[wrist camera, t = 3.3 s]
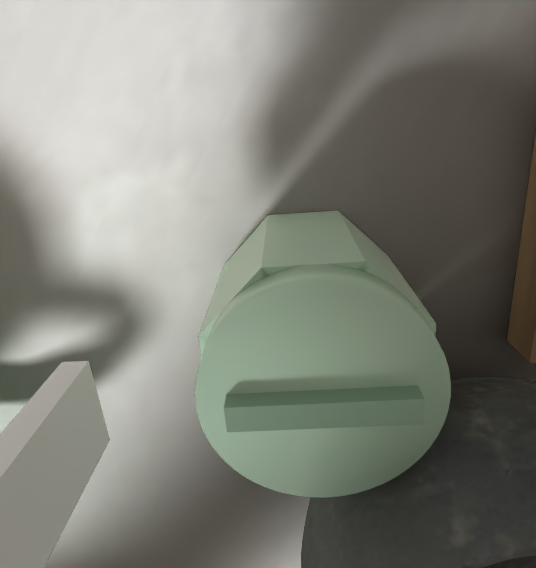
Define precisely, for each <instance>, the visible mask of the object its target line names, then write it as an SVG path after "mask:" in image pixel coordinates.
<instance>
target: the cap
mask: <svg viewBox="0 0 536 568" xmlns="http://www.w3.org/2000/svg"><path fill="white" fill-rule="evenodd" d="M435 335H436V322H435V321H434V320H433V318H432V317H431V315H430V314H429V313H428V311H427V310H426V308H425V307H424V306H423V304H422V303H421V301H420V300H419V299H418V297H417V296H416V294H415V293H414V292H413V290H412V289H411V287H410V286H409V285H408V283H407V282H406V280H405V279H404V278H403V276H402V275H401V273H400V272H399V271H398V269H397V268H396V266H395V265H394V264H393V262H392V261H391V259H390V258H389V257H388V255H387V254H386V253H385V252H384V251H382V250H381V249H380V248H379V247H378V246H377V245H376V244H375V243H374V242H372V241H371V240H370V239H369V238H368V237H367V236H366V235H365V234H364V233H362V232H361V231H360V230H359V229H358V228H357V227H356V226H355V225H354V224H352V223H351V222H350V221H349V220H348V219H347V218H346V217H345V216H344V215H342V214H341V213H340V212H339V211H338V210H337V211H322V212H307V213H293V214H278V215H267V217H266V218H265V219H264V220H263V221H262V222H261V223H260V225H259V226H258V227H257V228H256V229H255V230H254V231H253V233H252V234H251V235H250V236H249V237H248V238H247V239H246V241H245V242H244V243H243V244H242V245H241V246H240V247H239V249H238V250H237V251H236V252H235V253H234V254H233V255H232V257H231V258H230V259H229V260H228V261H227V262H226V263H225V265H224V267H223V270H222V272H221V275H220V278H219V281H218V283H217V286H216V289H215V292H214V294H213V297H212V300H211V303H210V305H209V308H208V311H207V314H206V317H205V319H204V322H203V325H202V328H201V330H200V333H199V336H198V337H199V344H200V351H201V357H202V358H201V361H200V365H199V368H198V373H197V377H196V384H195V403H196V410H197V414H198V418H199V422H200V424H201V427H202V429H203V432H204V434H205V436H206V437H207V439H208V441H209V443H210V444H211V446H212V447H213V448H214V450H215V451H216V452H217V453H218V455H219V456H220V457H221V458H222V459H223V460H224V461H225V462H226V463H227V464H228V465H229V466H230V467H232V468H233V469H234V470H236V471H237V472H238V473H239V474H241V475H242V476H244V477H246V478H248V479H249V480H251V481H253V482H255V483H257V484H259V485H261V486H263V487H266V488H268V489H271V490H274V491H278V492H281V493H285V494H290V495H294V496H302V497H320V498H326V497H338V496H345V495H350V494H355V493H359V492H362V491H366V490H369V489H372V488H374V487H377V486H379V485H382V484H384V483H386V482H388V481H390V480H391V479H393V478H395V477H397V476H398V475H400V474H401V473H403V472H404V471H406V470H407V469H409V468H410V467H411V466H412V465H413V464H414V463H416V462H417V461H418V460H419V459H420V458H421V457H422V456H423V455H424V454H425V453H426V451H427V450H428V449H429V448H430V447H431V445H432V444H433V442H434V441H435V439H436V438H437V436H438V435H439V433H440V431H441V429H442V427H443V425H444V422H445V419H446V416H447V413H448V410H449V404H450V398H451V379H450V373H449V367H448V364H447V361H446V358H445V355H444V352H443V350H442V348H441V347H440V345H439V343H438V341H437V339H436V338H435Z"/></svg>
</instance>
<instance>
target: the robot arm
mask: <svg viewBox="0 0 536 568" xmlns="http://www.w3.org/2000/svg"><path fill="white" fill-rule="evenodd" d="M109 440H110V439H109V435H108V431H107V428H106V424H105V420H104V416H103V413H102V409H101V405H100V401H99V398H98V394H97V390H96V386H95V383H94V379H93V375H92V371H91V367H90V364H89V361H72V362H61V363H60V365H59V366H58V367H57V368H56V369H55V371H54V372H53V373H52V374H51V375H50V376H49V378H48V379H47V380H46V381H45V382H44V383H43V385H42V386H41V387H40V388H39V389H38V390H37V392H36V393H35V394H34V395H33V396H32V397H31V399H30V400H29V401H28V402H27V403H26V405H25V406H24V407H23V408H22V409H21V410H20V412H19V413H18V414H17V415H16V416H15V417H14V419H13V420H12V421H11V422H10V423H9V424H8V426H7V427H6V428H5V429H4V430H3V431H2V433H1V434H0V568H44V566H45V564H46V562H47V560H48V558H49V556H50V554H51V553H52V551H53V549H54V547H55V545H56V543H57V541H58V539H59V537H60V535H61V533H62V531H63V529H64V527H65V525H66V524H67V522H68V520H69V518H70V516H71V514H72V512H73V510H74V508H75V506H76V504H77V502H78V500H79V498H80V496H81V494H82V493H83V491H84V489H85V487H86V485H87V483H88V481H89V479H90V477H91V475H92V473H93V471H94V469H95V467H96V465H97V464H98V462H99V460H100V458H101V456H102V454H103V452H104V450H105V448H106V446H107V444H108V442H109Z"/></svg>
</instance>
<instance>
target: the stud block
mask: <svg viewBox="0 0 536 568" xmlns="http://www.w3.org/2000/svg"><path fill="white" fill-rule="evenodd" d="M507 341H508V342H509V343H510V344H511V345H512V346H513V347H514V348H515V349H516V350H517V351H518V352H519V353H520V354H521V355H522V356H523V357H524V358H525V359H526V360H527V361H528V362H529V363H536V131H535V139H534V146H533V153H532V160H531V168H530V175H529V182H528V189H527V197H526V204H525V211H524V218H523V226H522V233H521V240H520V247H519V255H518V262H517V269H516V277H515V284H514V291H513V298H512V306H511V313H510V320H509V327H508V335H507Z"/></svg>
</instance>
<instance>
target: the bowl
mask: <svg viewBox="0 0 536 568" xmlns="http://www.w3.org/2000/svg"><path fill="white" fill-rule="evenodd" d="M301 568H536V382H535V381H530V380H525V379H518V378H500V377H494V378H468V379H456V380H451V398H450V404H449V410H448V413H447V416H446V419H445V422H444V425H443V427H442V429H441V431H440V433H439V435H438V436H437V438H436V439H435V441H434V442H433V444H432V445H431V447H430V448H429V449H428V450H427V451H426V453H425V454H424V455H423V456H422V457H421V458H420V459H419V460H418V461H417V462H416V463H414V464H413V465H412V466H411V467H410V468H409V469H407V470H406V471H404V472H403V473H401V474H400V475H398V476H397V477H395V478H393V479H391V480H390V481H388V482H386V483H384V484H382V485H379V486H377V487H374V488H372V489H369V490H366V491H362V492H359V493H355V494H350V495H345V496H338V497H326V498H320V497H311V499H310V503H309V507H308V511H307V515H306V521H305V527H304V534H303V541H302V551H301Z"/></svg>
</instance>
